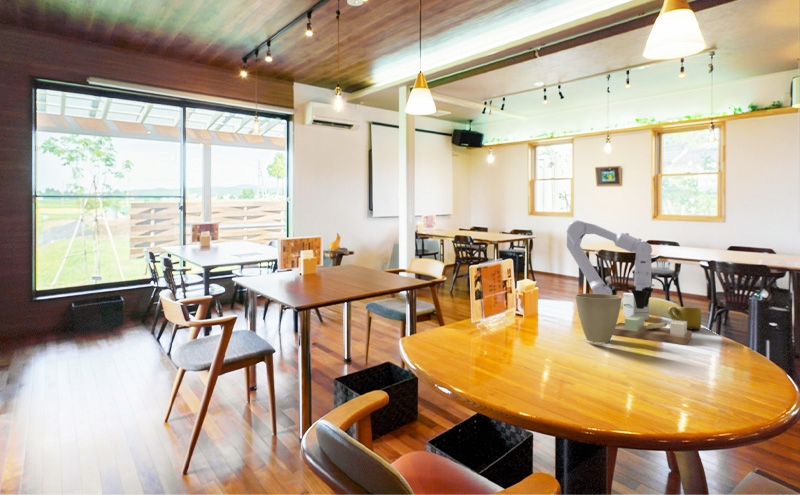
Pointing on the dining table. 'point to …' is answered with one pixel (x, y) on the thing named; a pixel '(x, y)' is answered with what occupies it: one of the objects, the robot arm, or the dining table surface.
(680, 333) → the button white
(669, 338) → the panel
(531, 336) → the dining table surface
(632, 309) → the supplement box
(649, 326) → the tan flat block
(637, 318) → the light green rectangular bar
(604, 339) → the plant pot
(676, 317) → the mug
